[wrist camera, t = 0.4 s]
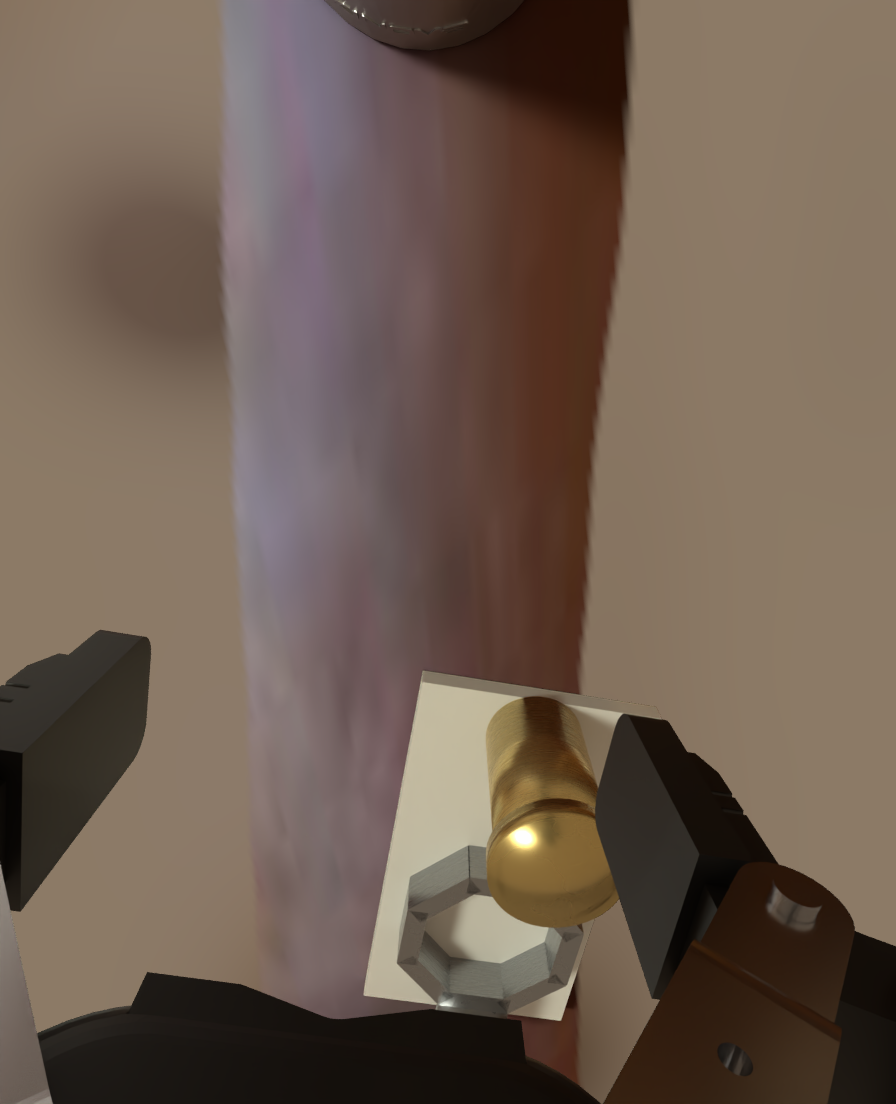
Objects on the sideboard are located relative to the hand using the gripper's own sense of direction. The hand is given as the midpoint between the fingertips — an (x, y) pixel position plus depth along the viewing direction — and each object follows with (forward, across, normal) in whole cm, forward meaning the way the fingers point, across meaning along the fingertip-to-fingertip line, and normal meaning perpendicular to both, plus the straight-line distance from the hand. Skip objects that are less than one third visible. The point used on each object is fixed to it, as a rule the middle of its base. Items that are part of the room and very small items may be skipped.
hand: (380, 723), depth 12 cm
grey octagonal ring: (+19, -7, +22) cm, 30 cm away
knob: (+18, -7, +10) cm, 22 cm away
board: (+20, -7, +18) cm, 27 cm away
